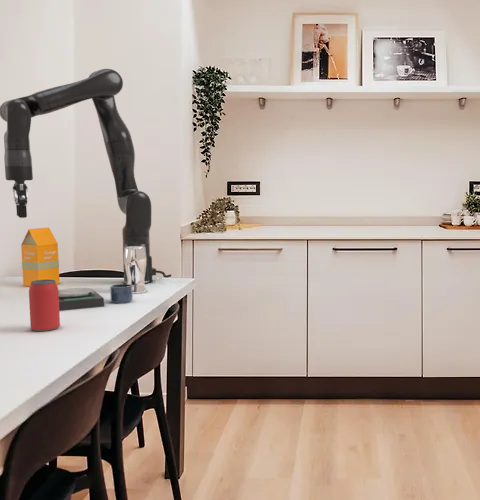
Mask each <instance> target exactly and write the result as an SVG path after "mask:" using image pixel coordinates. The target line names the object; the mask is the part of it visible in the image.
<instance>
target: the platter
mask: <svg viewBox="0 0 480 500" xmlns="http://www.w3.org/2000/svg"><path fill="white" fill-rule="evenodd" d="M95 292H96V290H95V289H94V288H90V287H73V288H64V289H58V293H59V297H80V296H87V295H91V294H94V293H95Z"/></svg>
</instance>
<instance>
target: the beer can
mask: <svg viewBox="0 0 480 500" xmlns="http://www.w3.org/2000/svg"><path fill="white" fill-rule="evenodd" d="M55 282H56V281H55V280H50V279H46V280H35V281H32V282H31V285H30V286H29V288H28V300H29V301H28V302H29V320H30V329H31V330H32V331H34V332H50V331H54V330H56V329H59V327H61V319H60V318H61V317H60V311H59V293H58V290H59V286H58V284H56V283H55Z"/></svg>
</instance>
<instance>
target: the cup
mask: <svg viewBox="0 0 480 500" xmlns="http://www.w3.org/2000/svg"><path fill="white" fill-rule="evenodd" d="M109 288H110V289H109V292H110V293H109V295H110V302H112V304H118V305H119V304H128V303H131V302H132V300H133V299H134V297H133V295H134V293H132V285H131V284H125V283H118V284H112V285H110V286H109Z"/></svg>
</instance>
